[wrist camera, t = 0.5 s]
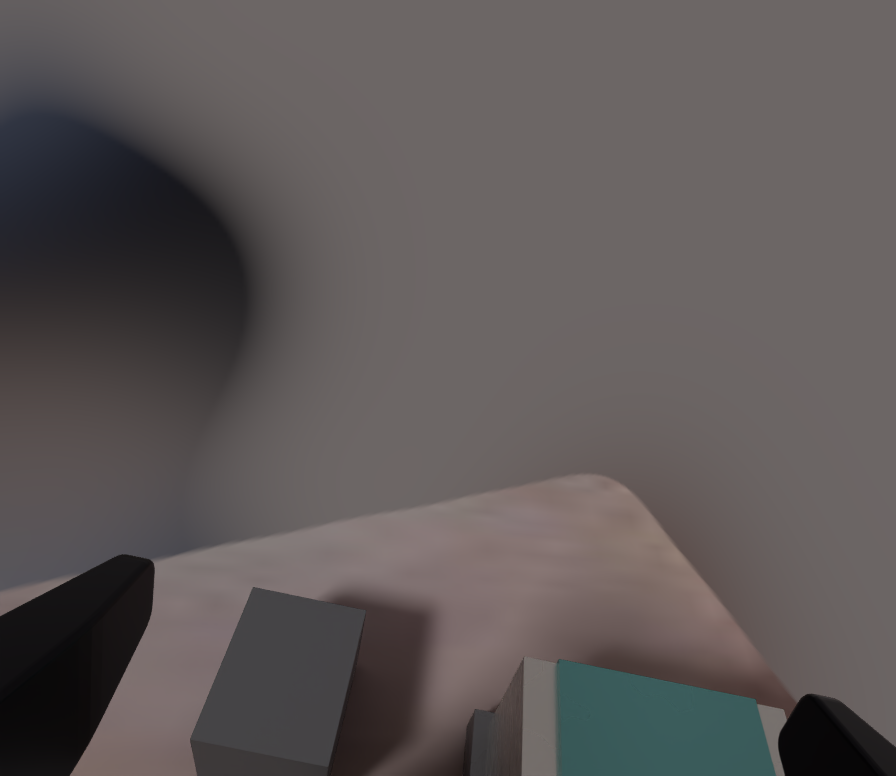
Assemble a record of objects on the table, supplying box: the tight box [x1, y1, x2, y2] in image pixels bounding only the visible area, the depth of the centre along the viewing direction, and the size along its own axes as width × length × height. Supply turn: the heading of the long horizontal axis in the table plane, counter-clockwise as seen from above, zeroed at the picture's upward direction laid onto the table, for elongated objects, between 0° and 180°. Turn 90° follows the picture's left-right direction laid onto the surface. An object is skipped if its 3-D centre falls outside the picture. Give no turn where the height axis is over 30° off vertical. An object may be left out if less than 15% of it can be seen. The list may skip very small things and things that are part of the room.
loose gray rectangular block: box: [190, 587, 366, 776], centre depth 21 cm, size 5×4×4 cm
